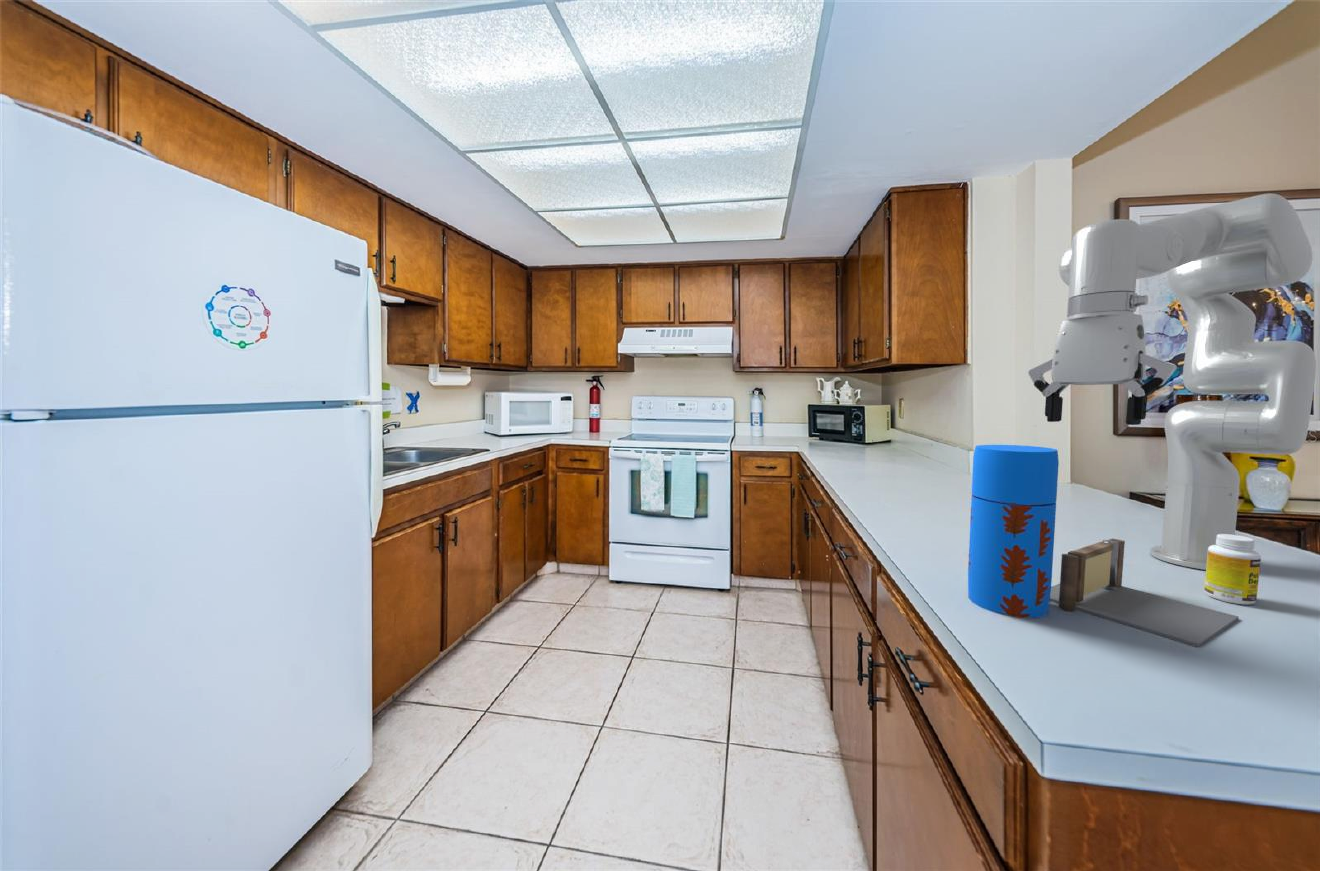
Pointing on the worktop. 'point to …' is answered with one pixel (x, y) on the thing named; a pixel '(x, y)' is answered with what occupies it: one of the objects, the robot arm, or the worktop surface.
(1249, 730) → the worktop surface
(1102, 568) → the gate
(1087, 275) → the robot arm
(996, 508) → the thermos
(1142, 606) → the gate frame
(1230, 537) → the supplement bottle
